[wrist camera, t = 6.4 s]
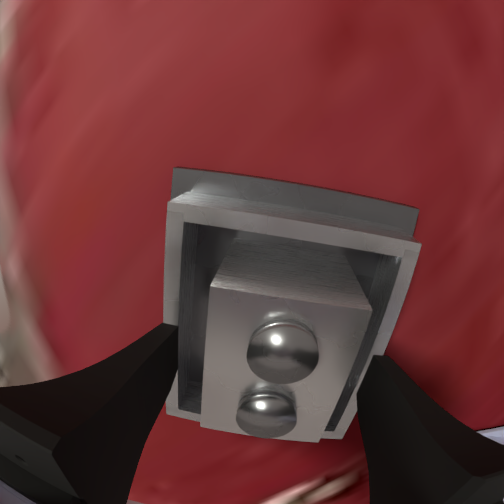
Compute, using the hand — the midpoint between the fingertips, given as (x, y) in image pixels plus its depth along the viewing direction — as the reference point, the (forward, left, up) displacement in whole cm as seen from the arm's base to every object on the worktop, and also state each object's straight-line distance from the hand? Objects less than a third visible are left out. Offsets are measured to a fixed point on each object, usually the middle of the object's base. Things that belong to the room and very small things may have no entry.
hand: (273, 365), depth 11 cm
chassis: (0, 0, -4) cm, 4 cm away
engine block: (0, -1, -3) cm, 3 cm away
